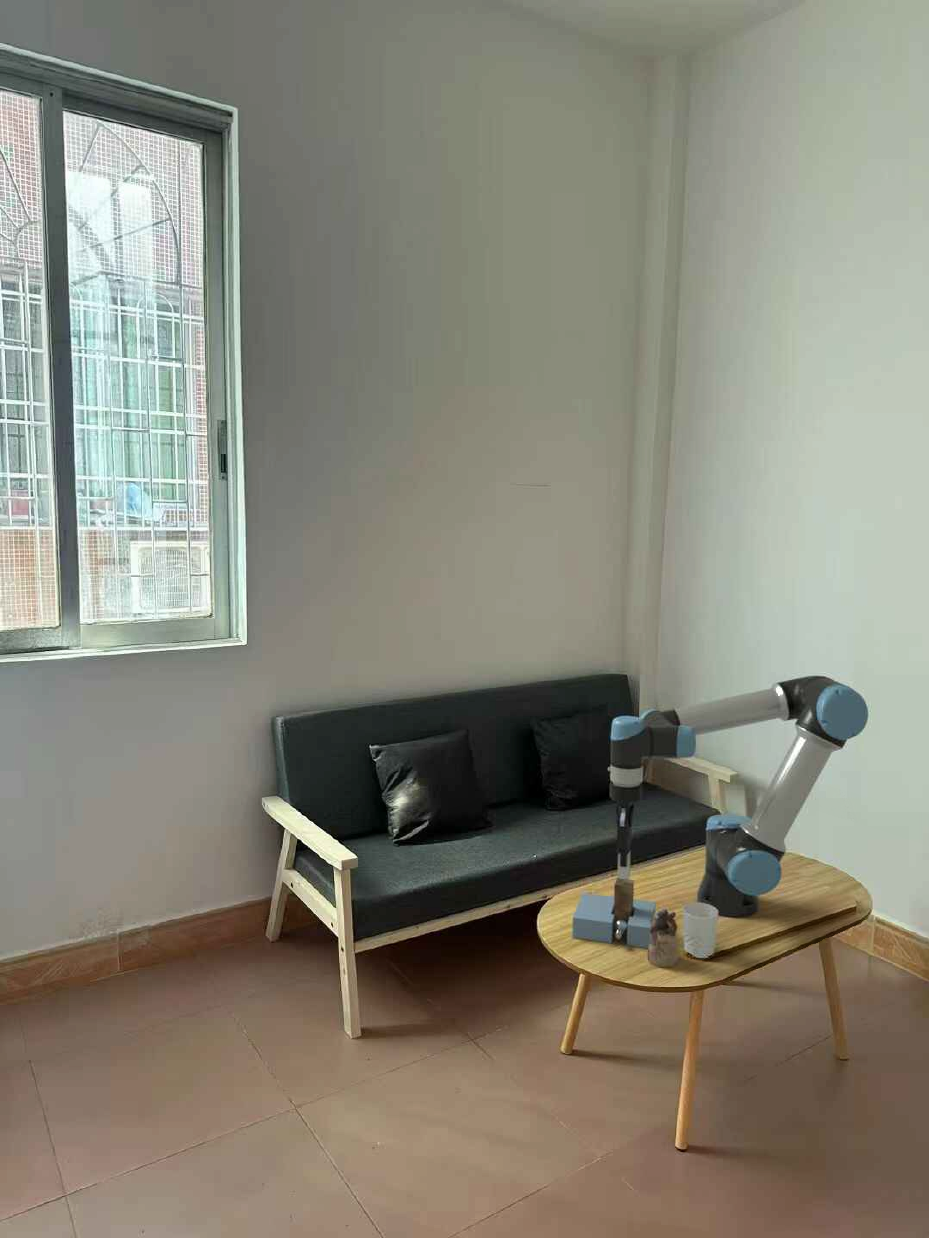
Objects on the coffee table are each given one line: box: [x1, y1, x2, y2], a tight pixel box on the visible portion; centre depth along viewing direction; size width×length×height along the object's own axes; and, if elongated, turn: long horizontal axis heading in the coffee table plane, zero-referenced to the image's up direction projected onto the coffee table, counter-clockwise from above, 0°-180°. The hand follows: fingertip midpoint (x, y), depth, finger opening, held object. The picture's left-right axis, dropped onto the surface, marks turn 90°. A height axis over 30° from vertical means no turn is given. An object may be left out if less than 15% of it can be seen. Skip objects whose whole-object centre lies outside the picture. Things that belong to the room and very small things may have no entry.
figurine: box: [646, 908, 680, 968], centre depth 200 cm, size 7×7×12 cm
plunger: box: [614, 920, 627, 940], centre depth 209 cm, size 3×6×3 cm, turn 163°
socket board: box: [572, 892, 656, 949], centre depth 215 cm, size 18×14×5 cm
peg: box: [613, 877, 635, 935], centre depth 214 cm, size 4×4×12 cm
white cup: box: [682, 902, 719, 959], centre depth 204 cm, size 8×8×10 cm
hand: (623, 877), depth 213 cm, fingers closed
